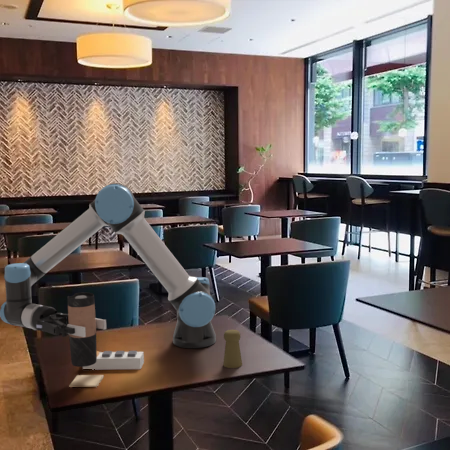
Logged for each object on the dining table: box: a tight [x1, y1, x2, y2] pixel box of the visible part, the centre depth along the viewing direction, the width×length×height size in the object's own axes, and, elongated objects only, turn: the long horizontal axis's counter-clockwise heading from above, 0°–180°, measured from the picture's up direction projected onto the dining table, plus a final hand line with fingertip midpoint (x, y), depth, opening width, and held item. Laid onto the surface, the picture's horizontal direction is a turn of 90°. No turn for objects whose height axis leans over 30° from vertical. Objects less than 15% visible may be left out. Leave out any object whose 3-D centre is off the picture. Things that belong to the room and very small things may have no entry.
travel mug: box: [67, 291, 98, 368], centre depth 164 cm, size 8×8×20 cm
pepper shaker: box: [222, 329, 243, 369], centre depth 177 cm, size 6×6×11 cm
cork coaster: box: [68, 374, 105, 388], centre depth 166 cm, size 8×8×1 cm
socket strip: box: [82, 350, 145, 371], centre depth 179 cm, size 18×6×4 cm, turn 88°
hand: (95, 328), depth 162 cm, fingers closed on travel mug, 7 cm apart
